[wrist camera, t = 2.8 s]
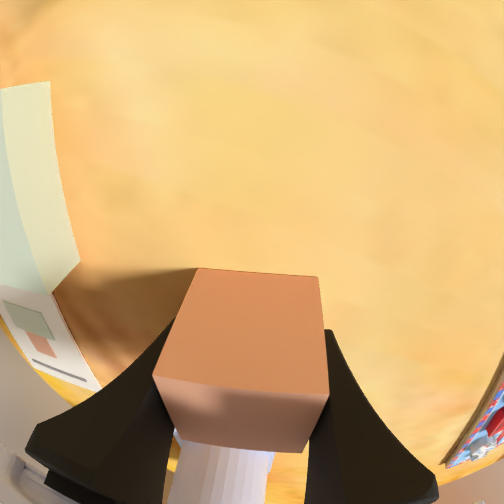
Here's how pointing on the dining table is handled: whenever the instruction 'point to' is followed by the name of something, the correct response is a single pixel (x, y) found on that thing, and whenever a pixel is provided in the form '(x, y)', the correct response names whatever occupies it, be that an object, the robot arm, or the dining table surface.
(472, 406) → the dining table surface
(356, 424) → the robot arm
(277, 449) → the top brick
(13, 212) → the base brick
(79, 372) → the page
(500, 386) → the puzzle board
